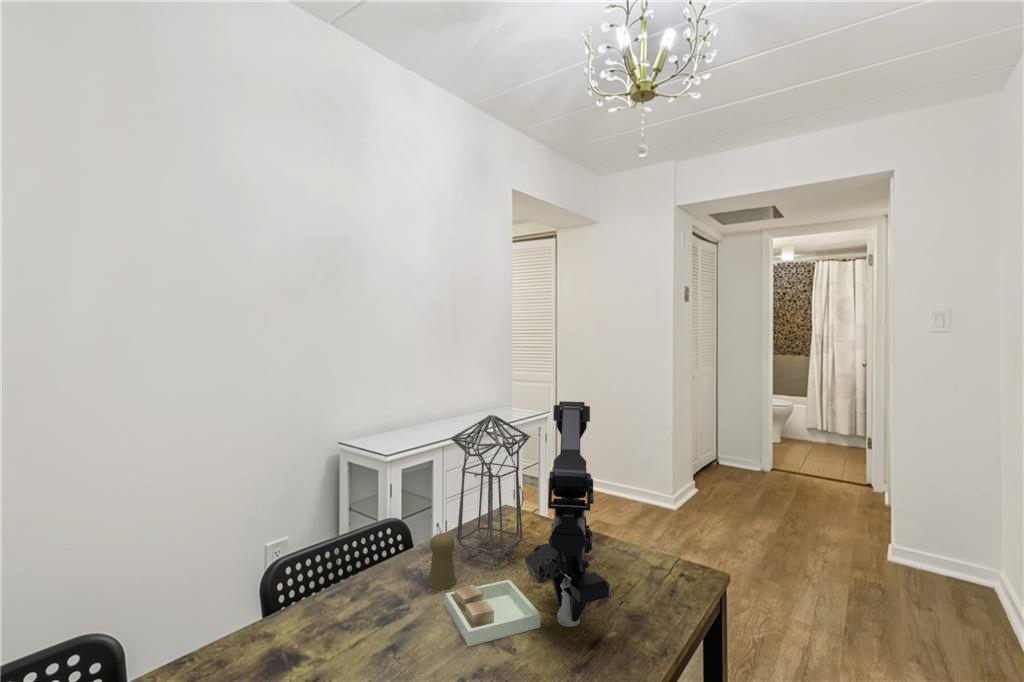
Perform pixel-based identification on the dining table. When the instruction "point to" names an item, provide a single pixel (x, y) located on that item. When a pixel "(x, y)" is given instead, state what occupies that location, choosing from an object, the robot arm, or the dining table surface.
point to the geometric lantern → (490, 482)
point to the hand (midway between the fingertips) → (568, 614)
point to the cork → (442, 562)
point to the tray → (497, 613)
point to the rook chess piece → (565, 607)
